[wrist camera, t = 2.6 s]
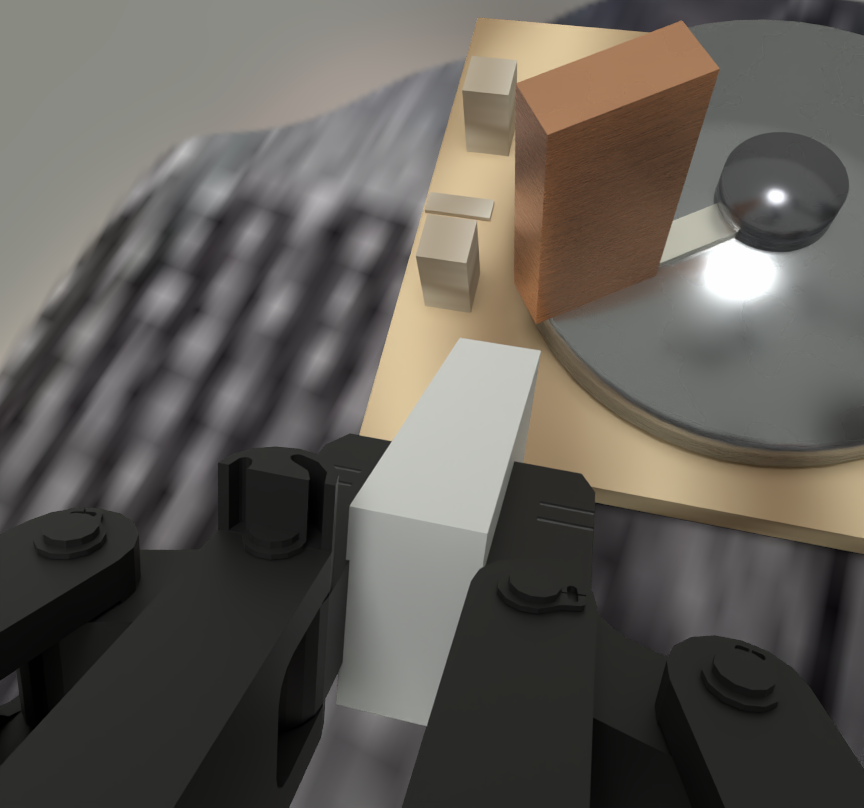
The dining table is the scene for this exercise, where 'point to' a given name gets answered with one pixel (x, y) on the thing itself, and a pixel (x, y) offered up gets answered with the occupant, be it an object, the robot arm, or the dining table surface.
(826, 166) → the disc
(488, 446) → the robot arm
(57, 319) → the dining table surface
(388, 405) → the tan record player
